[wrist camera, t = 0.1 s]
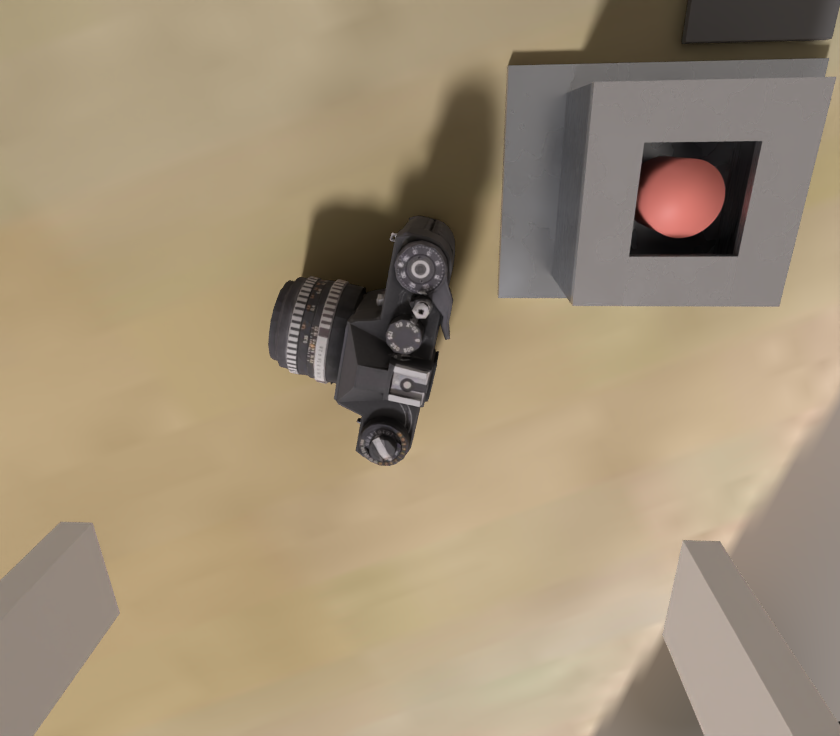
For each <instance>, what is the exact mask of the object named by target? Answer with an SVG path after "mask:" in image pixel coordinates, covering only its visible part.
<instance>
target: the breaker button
mask: <svg viewBox="0 0 840 736" xmlns="http://www.w3.org/2000/svg"><path fill="white" fill-rule="evenodd" d="M724 199H725V184H724V180H723V178H722V176H721V174H720V172H719V171H718V170H717V169H716V167H714V166H713V165H712V164H710V163H709V162H707V161H704V160H700V159H693V158H682V157H670V156H660V157H655V158H652V159H650V160H648V161H646V162H644V163H643V164H641V171H640V178H639V186H638V193H637V201H636V208H635V215H634V220H635V221H636V222H638V223H640V224H642V225H644V226H646V227H648V228H650V229H652V230H654V231H656V232H659V233H661V234H663V235H665V236H668V237H672V238H685V237H690V236H693V235H695V234H697V233H699V232H701V231H703V230H704V229H706V228H707V227H708V226H709V225H710V224H711V223H712V222H713V221H714V220H715V219H716V217H717V216H718V214H719V212H720V211H721V208H722V206H723V203H724Z"/></svg>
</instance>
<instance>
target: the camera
mask: <svg viewBox="0 0 840 736" xmlns="http://www.w3.org/2000/svg"><path fill="white" fill-rule="evenodd" d="M394 236H395V239H393V237H394ZM390 241H393V242H394V247H393V253H392V258H391V263H390V268H389V271H388V273H389V274H388V279H387V284H386V288H385V289H380V290H374V291H369V292H366V288H365V287H361V286H357V285H353V284H349V282H348V281H344V280H340V279H338V280H337V281H328V280H322V279H321V278H317V277H313V276H311V277H309V278H303V277H299V278H297V279H296V281H291V280H289V281H288V282H286V283H285V285H284V287H283V288H282V289H281V290H280V293H279V295H278V298H277V300H276V303H275V306H274V309H273V314H272V318H271V323H270V331H269V343H268V346H269V353H270V356H271V358H272V359H274V360H277V361H278V363H279V366H281V367H283V368H287V369H289V371H290V372H291V373H295V374H299V375H300V374H302V375H308V376H309V377H310V378H315V380H316V381H317V382H321V383H325V384H326V383H328V382H331V384H332V383H336V389H335V396H334V399H335V400H336V401H337V403H338V404H339V405H341V406H343V407H345V408H347V409H349V410H351V411H353V412H355V413H357V414H359V415H361V416H362V418H358V420H357V422H358V423H360V429H359V435H358V441H357V446H356V451H357V452H358V453H359V454H361V455H362V456H363V457H365V458H366V459H368V460H369V461H371V462H373V463H375V464H378V465H384V466H390V465H394V464H396V463H398V462H399V461H401V460H402V459H403V458H404V457H405V455H406V454H407V452H408V451H409V450H410V448H411V445H412V441H413V437H414V433H415V429H416V424H417V420H418V415H419V411H420V407H424V402H427V401H428V399H429V395H430V392H431V388H432V384H433V379H434V375H435V371H436V367H437V360H438V354H439V351H438V352H436V350H435V349H434V348H435V344H436V339H437V335H438V330H439V326H440V324H441V328H442V331H443V334H444V337H445V340H447V339H450V330H449V319H450V314H451V309H452V303H453V298H452V294H451V291H450V288H449V283H450V279H451V274H452V269H453V265H454V256H455V239H454V236H453V233H452V231H451V230H450V228H449V227H448V226H447V225H446V224H445V223H444V222H441V221H440V220H436V219H432V218H428V217H424V216H415V217H411V218H409V221H408V222H407V224H406V225H405V226H404V228H403V229H402V230H400V231H399V232H398V233H392V234H391V237H390Z"/></svg>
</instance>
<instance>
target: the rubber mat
mask: <svg viewBox="0 0 840 736" xmlns="http://www.w3.org/2000/svg"><path fill="white" fill-rule="evenodd" d="M839 7H840V0H688V4H687V11H686V17H685V24H684V31H683V38H682V44H689V43H730V42H770V41H810V40H828V39H831V38H832V36H833V32H834V28H835V23H836V19H837V15H838V11H839Z"/></svg>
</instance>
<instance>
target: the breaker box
mask: <svg viewBox="0 0 840 736" xmlns="http://www.w3.org/2000/svg"><path fill="white" fill-rule="evenodd" d="M828 61H829V58H817V59H773V60H729V61H685V62H642V63H598V64H554V65H511V66H508V67H507V85H506V109H505V132H504V156H503V180H502V203H501V227H500V251H499V275H498V298H567V299H568V300H569V301H570V303H571V304H572V306H779V305H780V301H781V297H782V293H783V289H784V285H785V281H786V277H787V273H788V269H789V265H790V261H791V257H792V253H793V249H794V245H795V241H796V237H797V233H798V229H799V225H800V221H801V217H802V213H803V209H804V205H805V201H806V197H807V193H808V189H809V185H810V181H811V177H812V173H813V169H814V165H815V161H816V157H817V153H818V149H819V145H820V140H821V136H822V132H823V128H824V124H825V120H826V116H827V112H828V108H829V104H830V100H831V96H832V92H833V88H834V84H835V80H836V77H825V74H826V69H827V65H828ZM660 156H670V157H682V158H693V159H700V160H704V161H707V162H709V163H710V164H712V165H713V166H714V167H716V169H717V170H718V171H719V172H720V174H721V176H722V178H723V180H724V184H725V199H724V203H723V206H722V208H721V211H720V212H719V214H718V216H717V217H716V219H715V220H714V221H713V222H712V223H711V224H710V225H709V226H708V227H707V228H706V229H704V230H703V231H701V232H699V233H697V234H695V235H693V236H690V237H685V238H672V237H668V236H665V235H663V234H661V233H659V232H656V231H654V230H652V229H650V228H648V227H646V226H644V225H642V224H640V223H638V222H636V221H635V220H634V215H635V208H636V201H637V193H638V186H639V178H640V171H641V164H643V163H644V162H646V161H648V160H650V159H652V158H655V157H660Z"/></svg>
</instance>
